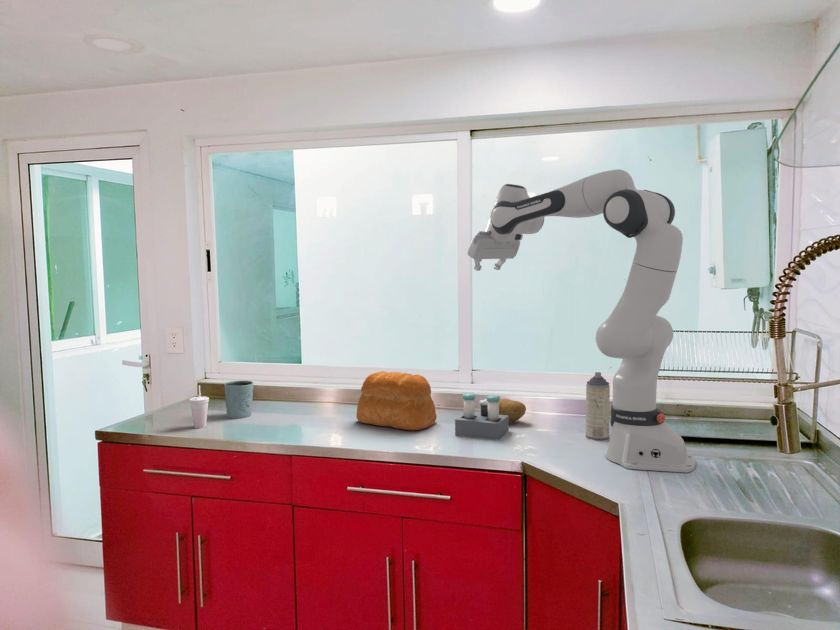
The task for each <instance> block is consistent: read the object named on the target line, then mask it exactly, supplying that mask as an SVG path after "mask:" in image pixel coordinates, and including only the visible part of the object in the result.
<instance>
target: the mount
mask: <svg viewBox="0 0 840 630" xmlns="http://www.w3.org/2000/svg"><path fill="white" fill-rule="evenodd" d="M478 404H479V405H480V412H477V411H474V418H464V413H462V414H461V415H459V416H458V417H457V418H455V419H454V434H455V435H454V436H461V437H469V438H475V439H476V438H478V439H484V438H485V439H487V440H493V441H499V440H500V439H501V438H502V437H504V436H505V435H506V434H507V433H508V432H509V431H510V429H509V428H510V427H509V426H510V425H509V423H510V422H509V415H499V420H497V421H490V420H488V401H487V398H485V399H480V400H479V403H478ZM485 439H484V440H485Z"/></svg>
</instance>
